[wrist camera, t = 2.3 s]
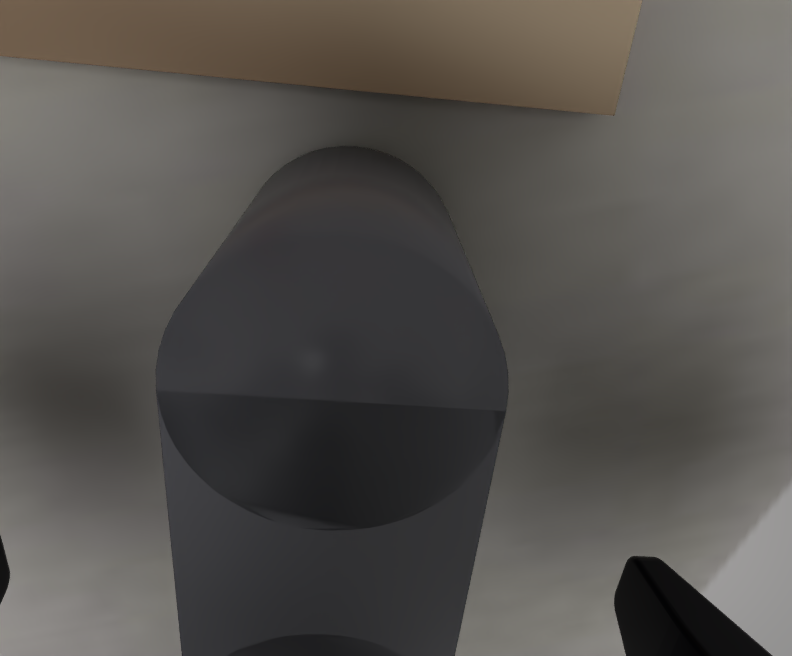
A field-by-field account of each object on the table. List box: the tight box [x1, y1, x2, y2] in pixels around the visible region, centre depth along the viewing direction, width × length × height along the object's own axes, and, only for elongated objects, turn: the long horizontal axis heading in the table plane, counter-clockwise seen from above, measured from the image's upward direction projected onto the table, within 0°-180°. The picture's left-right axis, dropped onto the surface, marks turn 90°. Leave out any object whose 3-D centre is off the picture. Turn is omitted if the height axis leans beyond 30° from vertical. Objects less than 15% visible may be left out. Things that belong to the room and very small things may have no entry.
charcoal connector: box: [156, 146, 508, 656], centre depth 11 cm, size 12×4×5 cm, turn 175°
